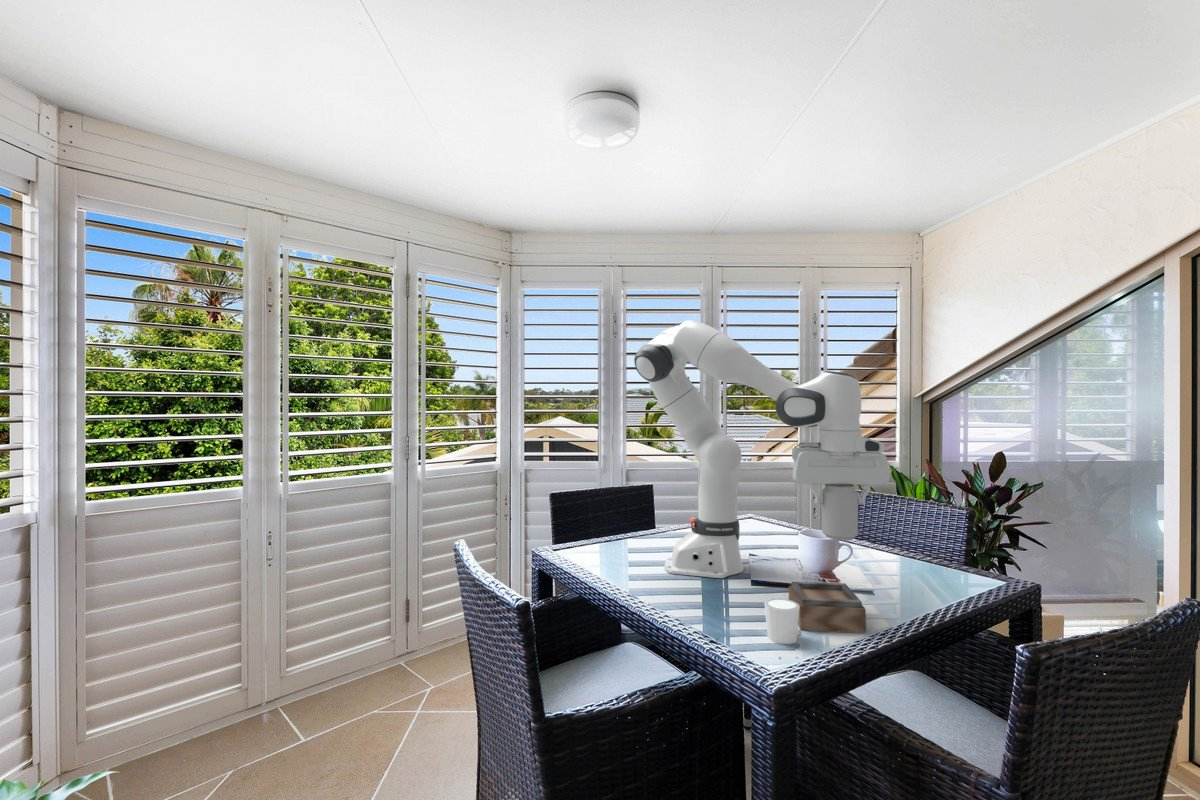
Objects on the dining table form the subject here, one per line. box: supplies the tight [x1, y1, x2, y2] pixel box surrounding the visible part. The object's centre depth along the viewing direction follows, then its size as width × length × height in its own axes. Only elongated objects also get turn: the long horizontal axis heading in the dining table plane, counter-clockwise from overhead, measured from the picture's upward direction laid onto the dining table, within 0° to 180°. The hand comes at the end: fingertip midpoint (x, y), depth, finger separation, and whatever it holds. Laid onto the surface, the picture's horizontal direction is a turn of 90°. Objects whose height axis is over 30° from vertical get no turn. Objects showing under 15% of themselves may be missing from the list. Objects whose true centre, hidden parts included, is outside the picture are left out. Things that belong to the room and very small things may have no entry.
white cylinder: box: [764, 598, 800, 645], centre depth 114 cm, size 7×7×7 cm
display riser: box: [788, 581, 867, 634], centre depth 123 cm, size 13×13×6 cm
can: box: [821, 484, 859, 541], centre depth 126 cm, size 8×8×12 cm
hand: (839, 503), depth 126 cm, fingers closed on can, 7 cm apart
